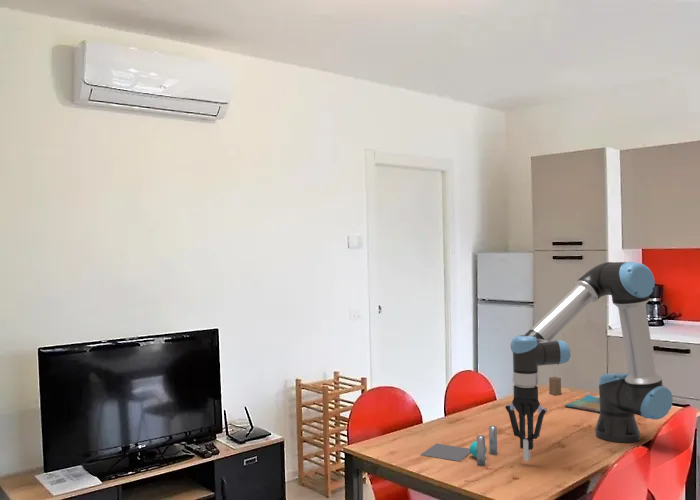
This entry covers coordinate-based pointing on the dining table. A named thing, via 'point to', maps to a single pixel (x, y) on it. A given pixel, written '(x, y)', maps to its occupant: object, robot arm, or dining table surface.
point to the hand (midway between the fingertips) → (526, 459)
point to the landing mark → (447, 452)
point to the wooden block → (555, 386)
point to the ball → (475, 449)
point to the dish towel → (586, 404)
